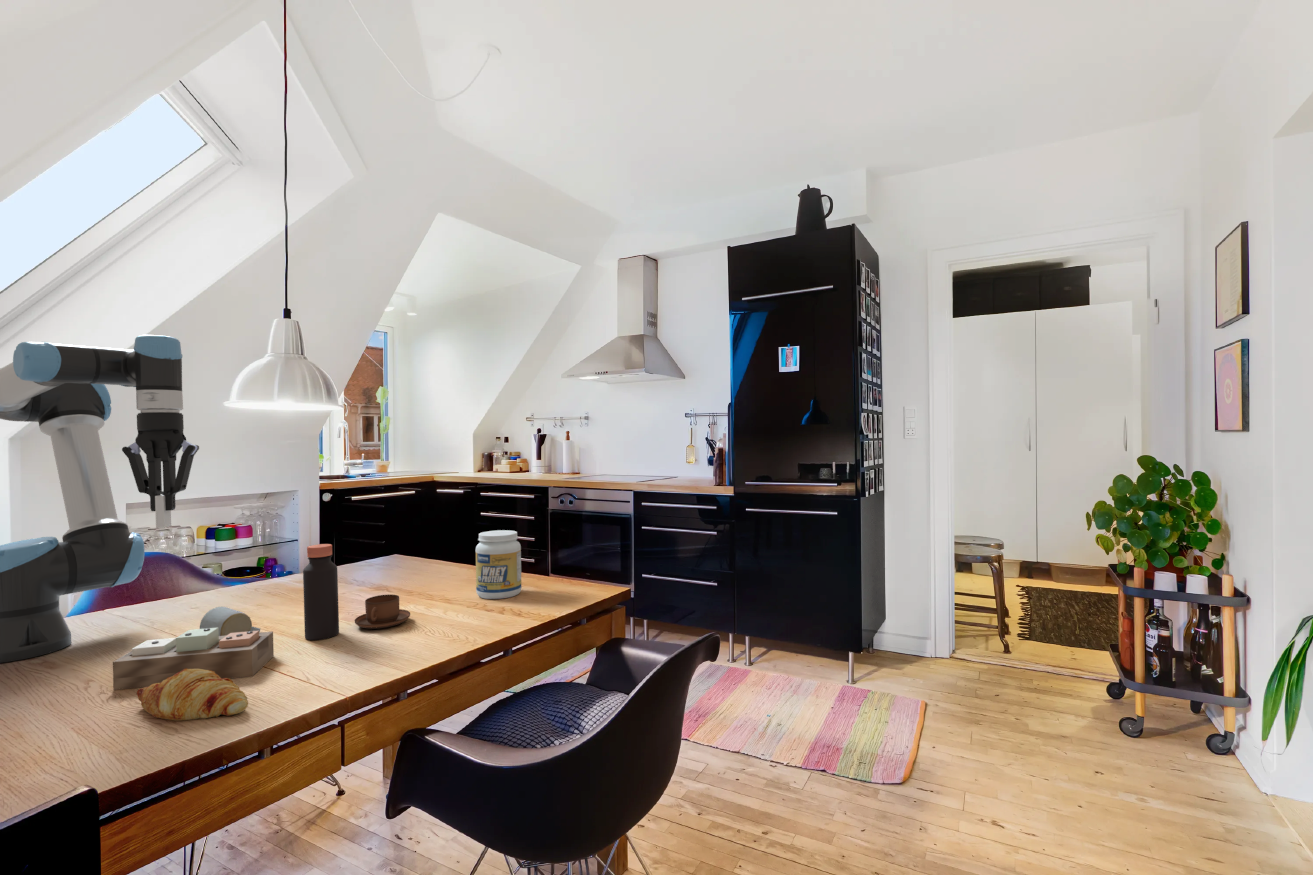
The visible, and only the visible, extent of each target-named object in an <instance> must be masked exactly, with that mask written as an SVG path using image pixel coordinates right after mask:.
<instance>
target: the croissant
mask: <svg viewBox="0 0 1313 875" xmlns="http://www.w3.org/2000/svg"><path fill="white" fill-rule="evenodd" d="M137 689H138V690H137V691H136V695H137V699H138V701H139V702H140V704H141V705H140V706H141V708H142V709H143V710H144V711H145V712H146V713H147V714H150V715H151V716H152V717H154V718H157V719H161V720H168V721H169V720H170V721H176V722H177V721H191V720H198V719H205V720H206V719H211V718H213V717H216V718H217V717H220V715H224V716H228V717H229V716H233V715H237V714H240V713H242V712H243V711H245V710H246V709H247V708H248V706H249V701H248V697H247V695H246V693H245V692H244V691H243V690H240V687H239V685H237V684H236V683H235V682H234V681H233V679H232V678H230V679H228V678H223V679H221V678H220V677H219V676H218V675H217V674H216V673H215V672H214V671H211V670H204V669H187V668H186V669H183V670H182V671H180V672H178V673H176V674H175V675H174V676H172V677H168V678H167V679H166V680H163V681H162V682H161V683H155V684H152V685H150V686H149V687H140V688H137Z"/></svg>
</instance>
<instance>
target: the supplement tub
mask: <svg viewBox="0 0 1313 875" xmlns="http://www.w3.org/2000/svg"><path fill="white" fill-rule="evenodd" d="M518 539H519V538H518V531H515V530H510V529H509V530H508V529H507V530H505V529H502V530H501V529H497V530H489V531H482V532H480V533H478V538H477V541H479V542H478V544H477V545H476V546H475V549H474V550H475V578H476V579H475V583H476V584H475V587H476V588H475V592H476V595H477V596H478V597H479V598H481V599H487V600H499V599H500V600H501V599H506V598H507V599H509V598H512V597H516V596H517V595H519V594H520V593H521V591H522V551H521V550H522V546H521V543H520V542H519V541H518Z"/></svg>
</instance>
